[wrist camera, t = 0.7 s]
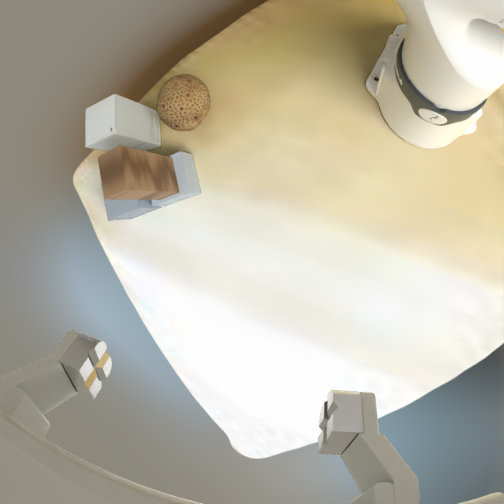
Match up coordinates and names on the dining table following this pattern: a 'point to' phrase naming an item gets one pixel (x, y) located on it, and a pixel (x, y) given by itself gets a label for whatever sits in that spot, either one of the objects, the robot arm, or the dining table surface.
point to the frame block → (137, 175)
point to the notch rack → (135, 208)
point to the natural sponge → (183, 102)
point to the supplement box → (122, 125)
